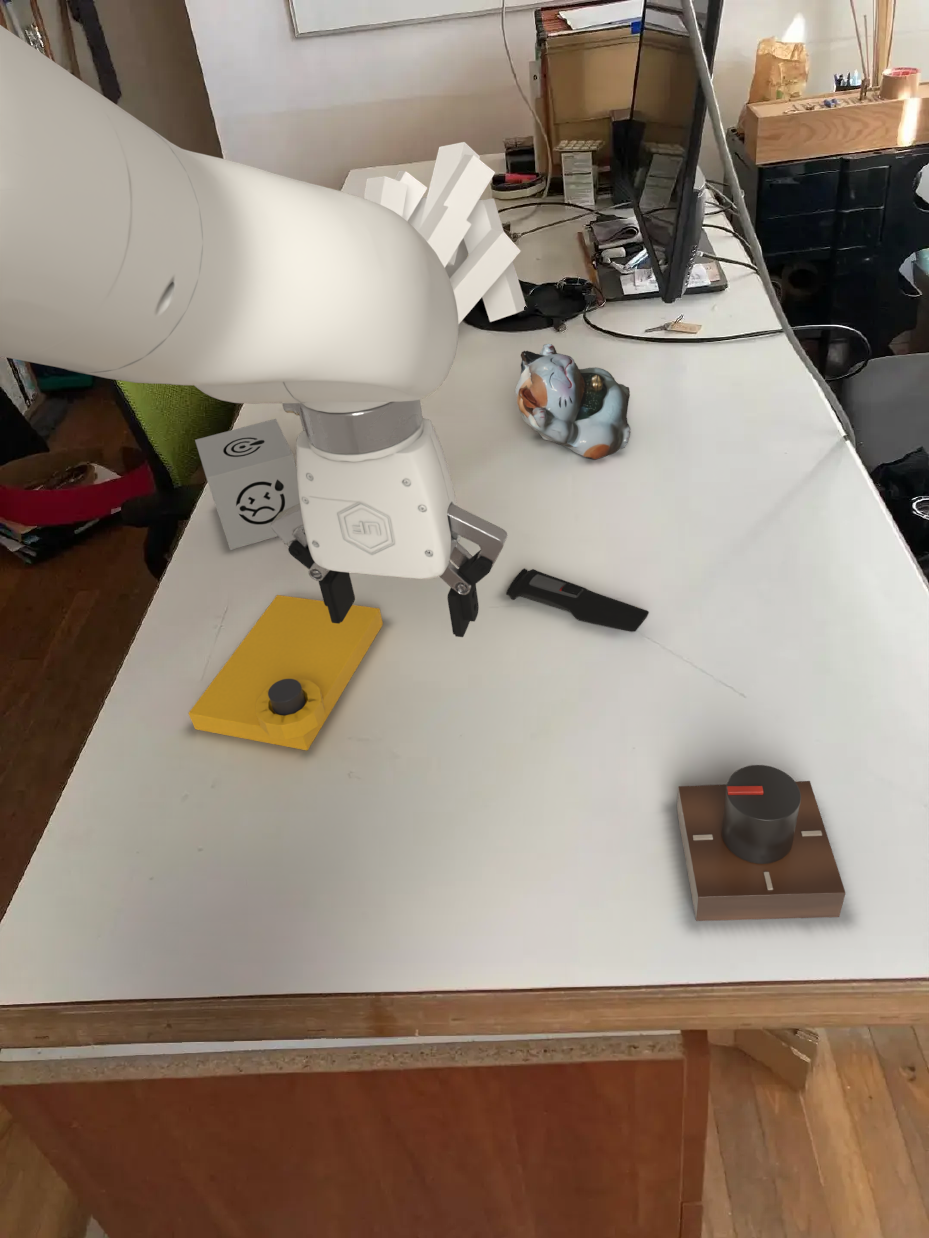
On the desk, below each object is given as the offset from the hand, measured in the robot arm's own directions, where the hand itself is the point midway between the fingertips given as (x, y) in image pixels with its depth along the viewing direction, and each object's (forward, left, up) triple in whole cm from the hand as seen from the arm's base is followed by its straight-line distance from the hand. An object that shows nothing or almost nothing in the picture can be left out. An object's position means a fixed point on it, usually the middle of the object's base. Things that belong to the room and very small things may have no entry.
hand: (403, 618), depth 70 cm
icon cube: (+34, +35, -17) cm, 51 cm away
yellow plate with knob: (+8, +18, -17) cm, 26 cm away
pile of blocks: (+89, +32, -17) cm, 96 cm away
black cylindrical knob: (+1, +14, -14) cm, 19 cm away
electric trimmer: (+24, -7, -17) cm, 30 cm away
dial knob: (-3, -27, -14) cm, 31 cm away
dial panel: (-3, -27, -17) cm, 32 cm away
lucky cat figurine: (+58, +1, -17) cm, 60 cm away
